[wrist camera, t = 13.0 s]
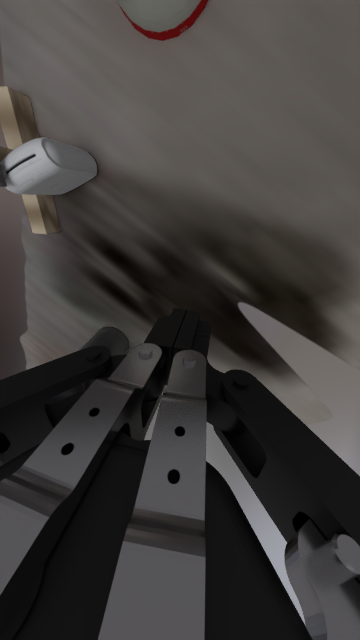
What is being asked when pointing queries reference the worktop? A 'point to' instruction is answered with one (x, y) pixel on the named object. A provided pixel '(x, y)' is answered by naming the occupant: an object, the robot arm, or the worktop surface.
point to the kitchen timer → (162, 16)
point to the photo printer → (47, 168)
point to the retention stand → (17, 131)
